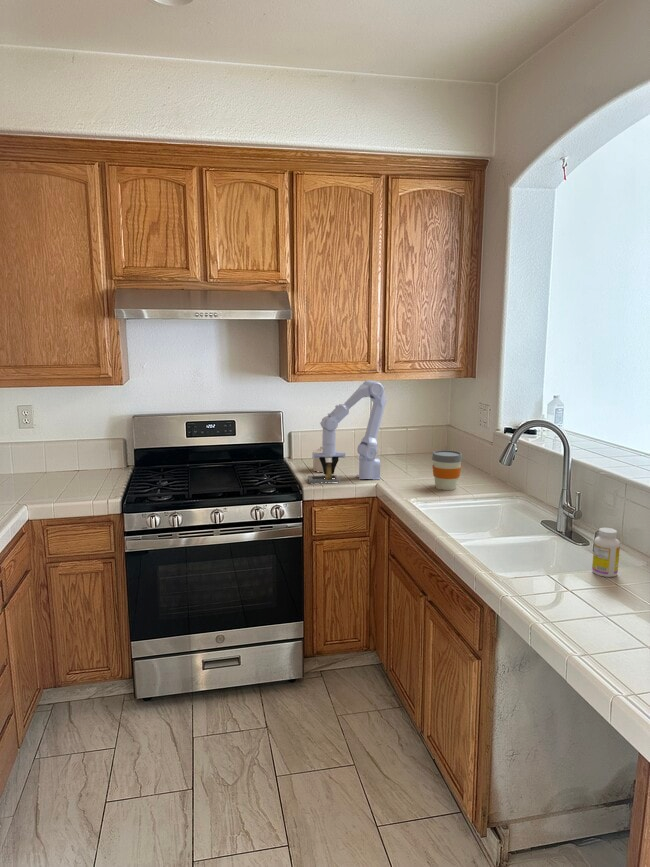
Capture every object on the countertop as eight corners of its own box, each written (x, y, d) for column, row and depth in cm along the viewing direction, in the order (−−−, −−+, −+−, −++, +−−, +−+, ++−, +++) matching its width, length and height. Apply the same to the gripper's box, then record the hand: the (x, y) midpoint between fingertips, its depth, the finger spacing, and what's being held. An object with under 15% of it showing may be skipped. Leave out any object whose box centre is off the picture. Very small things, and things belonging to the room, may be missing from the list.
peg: (331, 479, 274) (331, 462, 273) (332, 481, 271) (332, 463, 270) (325, 479, 274) (325, 462, 272) (325, 481, 271) (325, 463, 269)
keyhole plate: (336, 478, 277) (336, 475, 276) (338, 483, 269) (338, 479, 269) (307, 479, 275) (307, 475, 275) (309, 483, 267) (309, 480, 267)
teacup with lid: (334, 472, 289) (334, 447, 286) (316, 473, 286) (316, 449, 284) (326, 466, 300) (326, 443, 298) (308, 467, 297) (308, 444, 295)
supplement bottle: (610, 568, 178) (614, 526, 175) (621, 577, 171) (626, 534, 169) (587, 568, 177) (591, 526, 175) (598, 578, 171) (602, 534, 169)
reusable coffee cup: (439, 492, 256) (440, 457, 253) (426, 484, 267) (427, 450, 265) (466, 490, 259) (467, 455, 256) (452, 482, 271) (453, 449, 268)
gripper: (343, 441, 274) (343, 471, 276) (311, 442, 272) (311, 471, 275) (346, 444, 267) (345, 475, 270) (313, 445, 265) (313, 475, 268)
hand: (328, 473), depth 272 cm, fingers closed on peg, 3 cm apart
